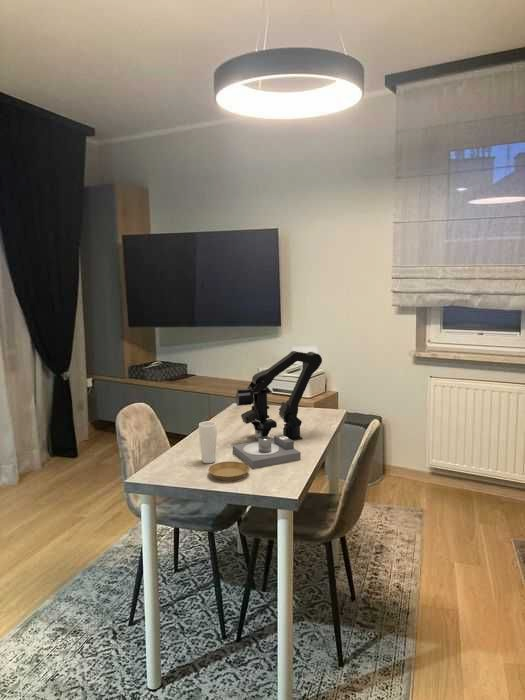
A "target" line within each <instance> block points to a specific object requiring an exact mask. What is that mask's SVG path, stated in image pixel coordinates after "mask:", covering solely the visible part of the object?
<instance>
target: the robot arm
mask: <svg viewBox="0 0 525 700" xmlns="http://www.w3.org/2000/svg"><path fill="white" fill-rule="evenodd" d="M296 362H301V363H302V364H301V365H302V369H301V372H300V374H299V376H298V378H297V381H296V383H295V385H294V387H293V390H292V391H291V394H290V396H289V398H288V399H287V400H286V402H285V401H282V402H281V404H280V407H279V408H278V410H279V411H278V416H279V418H280V419H282V421H283V423H284V424H283V425H284V426H283V428H282V430H283V431H282V433H283V434H282V435H284V436H286V437H288V438H289V439H291V440H293V441H296V440H302V439H303V436H301V425H302V423H303V422H302V420H301V419H299V418H298V413H299V405H300V402H301V400H302V397H303V395H304V393H305V391H306V389H307V386H308V384H309V382H310V379H311V377H312V375H313V374H314V373H315V372H316V371H317V370H318V369H319V368H320V366H321V365H322V363H323V358H322V355H320V354H319V353H316V352H314V351H308V352H303V351H297V350H296V351H295V350H292V351H291V352H289V353H288V354H287V355H286V356H284V357H282V358H281V359H279V361H277V362H275V364H273V365H272V366H270V367H269V368H266V369H265V370H261V371H259V372H257V373H255V374H253V376H252V378H251V382H250V383H249V385H248V386H247V388H244V389H242V388H241V389H240V388H239V389H236V393H235V396H234V397H235V404H236V406H237V407H240V406H242V407H243V406H250V405H252V404H253V405H252V406H251V409H250V410H249V409H248V410H247V411H245V412H243V413H241V415H240V417H241V420H242V422H243V423H245V425H248V424H252V426H253V428H254V431H255V430H256V429H261V435H262V437H263V436H267V437H269V433H270V431H271V429H275V428H277V427H278V425H277V422H276V420H274V419H272V418H270V415H269V414H268V410H269V409H270V406H269V405H268V394H273V391H272V390H271V389H270V388H269V386H270V385H271V384H272V382H273V381H274V379H276V377H277V376H278V375H280V374H281V373H283V372H284V371H285V370H287V369H288V368H290V367H291V366H292V365H294V364H295V363H296Z"/></svg>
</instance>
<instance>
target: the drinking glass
mask: <svg viewBox="0 0 525 700" xmlns="http://www.w3.org/2000/svg"><path fill="white" fill-rule="evenodd" d="M217 432H218V429H217V422H215V421H208V420H207V421H202V422H199V424H198V437H199V444H200V445H199V447H200V452H201V453H200V455H201V461H202V463H204V464H214V463H215V462H216V461H217V459H216V455H217V438H218V437H217V436H218V433H217Z"/></svg>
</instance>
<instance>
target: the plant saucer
mask: <svg viewBox="0 0 525 700" xmlns="http://www.w3.org/2000/svg"><path fill="white" fill-rule="evenodd" d="M250 468H251V467H250V466H249V465H248V464H247V463H245V462H240V461H233V460H232V461H220V462H217V463H213V464H212V465H210V466H209V467H208V470H207V471H208V472H209V473H210V475H211V476H213V478H215V479H216V478H217V480H219V481H224V480H225V481H226V482H227V481H228V482H229V480H232V481H237V480H241V479H242V478H244V477H245V476H246V475H247V474H248V473H249V471H250Z"/></svg>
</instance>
